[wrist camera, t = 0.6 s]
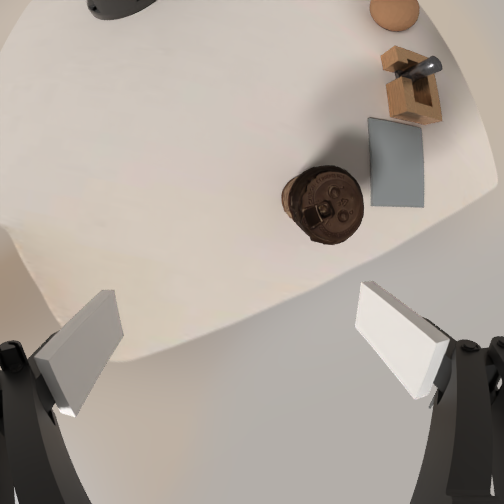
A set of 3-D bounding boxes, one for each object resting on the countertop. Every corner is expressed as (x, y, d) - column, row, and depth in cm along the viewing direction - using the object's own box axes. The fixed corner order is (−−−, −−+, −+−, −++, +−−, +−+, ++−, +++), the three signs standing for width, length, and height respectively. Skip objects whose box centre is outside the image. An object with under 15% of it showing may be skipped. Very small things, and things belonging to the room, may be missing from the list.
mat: (367, 118, 36) (369, 117, 35) (419, 128, 37) (421, 128, 36) (370, 205, 39) (372, 206, 39) (421, 207, 40) (423, 207, 39)
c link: (380, 55, 33) (394, 45, 28) (415, 66, 34) (430, 58, 29) (389, 116, 36) (406, 111, 31) (424, 124, 36) (442, 121, 32)
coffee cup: (264, 219, 38) (281, 235, 26) (279, 162, 37) (303, 151, 24) (320, 233, 40) (359, 255, 27) (335, 180, 38) (380, 179, 25)
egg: (359, 25, 31) (388, -5, 20) (362, 0, 30) (388, -29, 19) (398, 45, 32) (432, 23, 22) (399, 19, 31) (429, -4, 20)
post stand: (394, 70, 34) (427, 52, 24) (407, 74, 34) (441, 58, 24) (397, 85, 35) (431, 68, 25) (410, 88, 35) (445, 74, 25)
